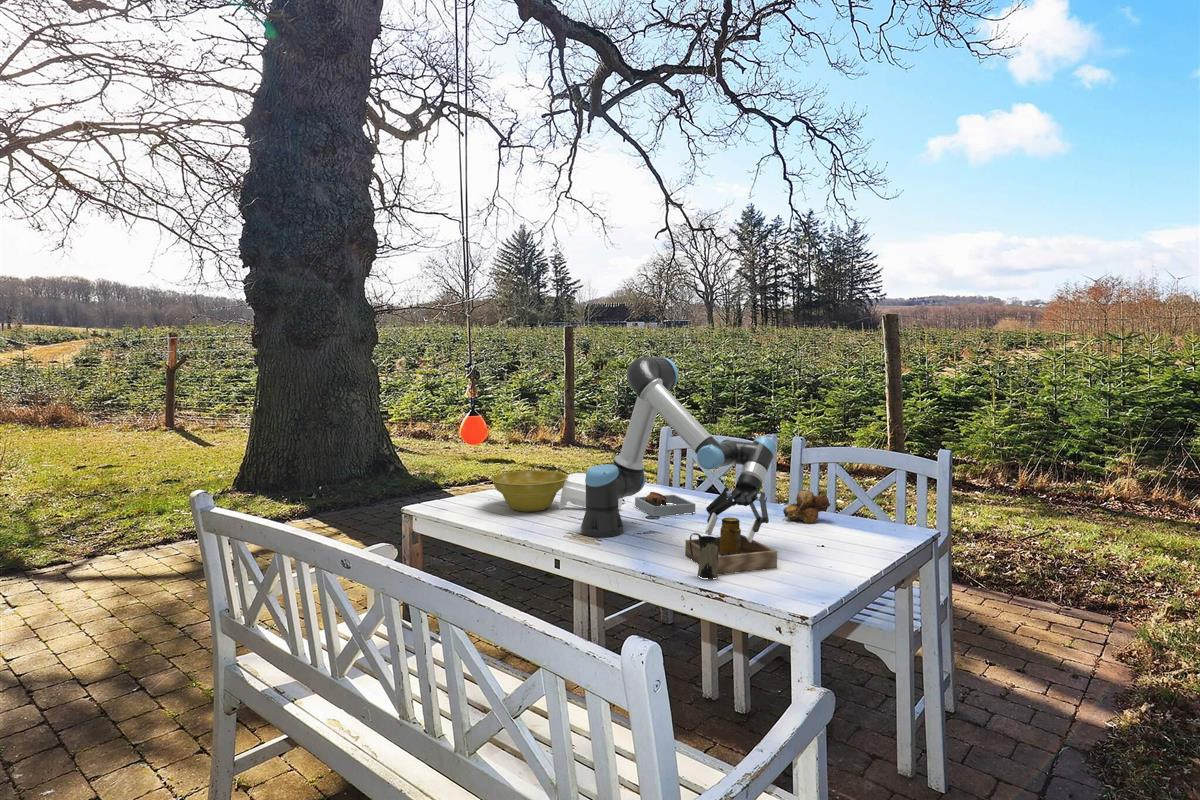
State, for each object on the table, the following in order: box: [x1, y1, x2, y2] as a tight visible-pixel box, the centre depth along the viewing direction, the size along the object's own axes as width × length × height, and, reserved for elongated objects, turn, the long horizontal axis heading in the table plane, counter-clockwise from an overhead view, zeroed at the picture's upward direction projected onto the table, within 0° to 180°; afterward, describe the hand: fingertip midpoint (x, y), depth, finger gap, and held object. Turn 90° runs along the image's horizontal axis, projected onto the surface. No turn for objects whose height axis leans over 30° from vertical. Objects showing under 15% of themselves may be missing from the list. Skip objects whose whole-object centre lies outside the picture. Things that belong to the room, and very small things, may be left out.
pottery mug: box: [645, 491, 667, 506], centre depth 276 cm, size 12×10×8 cm
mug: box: [689, 532, 719, 579], centre depth 190 cm, size 8×6×12 cm
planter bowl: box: [489, 469, 569, 513], centre depth 280 cm, size 32×32×13 cm
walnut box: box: [684, 534, 778, 575], centre depth 204 cm, size 20×20×5 cm
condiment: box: [719, 516, 742, 556], centre depth 203 cm, size 7×8×12 cm
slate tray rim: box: [634, 494, 696, 517], centre depth 275 cm, size 18×20×4 cm
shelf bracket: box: [558, 479, 624, 510], centre depth 277 cm, size 6×25×13 cm, turn 82°
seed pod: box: [782, 489, 831, 524], centre depth 255 cm, size 13×16×15 cm
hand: (727, 536), depth 202 cm, fingers open, 13 cm apart
